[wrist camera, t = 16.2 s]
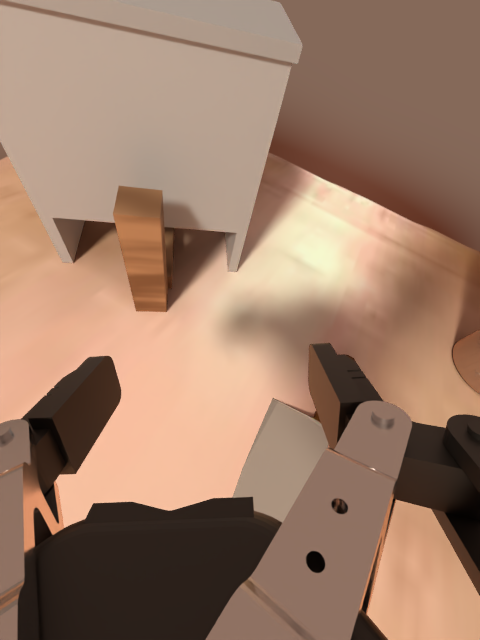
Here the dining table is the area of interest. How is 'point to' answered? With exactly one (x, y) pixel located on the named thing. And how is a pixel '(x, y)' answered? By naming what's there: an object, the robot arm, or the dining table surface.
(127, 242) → the upright wooden plank
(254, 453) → the kitchen cleaver
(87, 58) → the cabinet
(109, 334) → the dining table surface
